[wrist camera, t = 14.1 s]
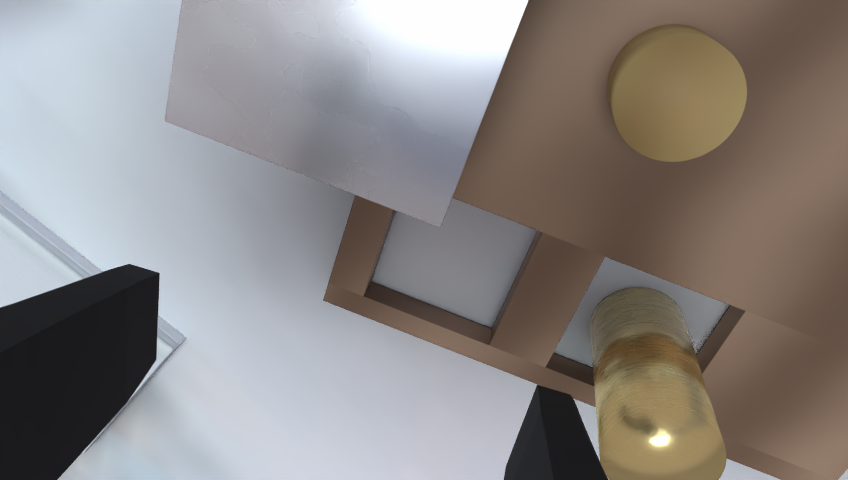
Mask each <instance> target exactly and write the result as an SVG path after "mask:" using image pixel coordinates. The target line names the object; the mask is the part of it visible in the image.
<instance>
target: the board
mask: <svg viewBox="0 0 848 480" xmlns="http://www.w3.org/2000/svg"><path fill="white" fill-rule="evenodd" d="M452 198H455V199H457V200H460V201H463V202H465V203H468V204H470V205H473V206H475V207H478V208H481V209H483V210H486V211H488V212H491V213H494V214H496V215H499V216H501V217H504V218H507V219H509V220H512V221H514V222H517V223H519V224H522V225H525V226H527V227H530V228H532V229H535V230H538V232H537V234H536V236H535V238H534V240H533V243H532V245H531V247H530V249H529V251H528V253H527V255H526V257H525V260H524V262H523V264H522V266H521V268H520V270H519V272H518V274H517V277H516V279H515V281H514V283H513V285H512V287H511V289H510V291H509V294H508V296H507V298H506V300H505V302H504V304H503V306H502V308H501V311H500V313H499V315H498V317H497V319H496V321H495V323H494V326H493V328H492V329H490V328H488V327H485V326H483V325H480V324H478V323H475V322H472V321H470V320H467V319H465V318H462V317H460V316H457V315H454V314H452V313H449V312H447V311H444V310H442V309H439V308H437V307H434V306H431V305H429V304H426V303H424V302H421V301H419V300H416V299H413V298H411V297H408V296H406V295H403V294H401V293H398V292H395V291H393V290H390V289H388V288H385V287H383V286H380V285H378V284H375V283H372V282H371V280H372V277H373V274H374V272H375V269H376V266H377V263H378V260H379V257H380V254H381V251H382V248H383V245H384V243H385V240H386V237H387V234H388V231H389V228H390V225H391V222H392V219H393V216H394V214H395V211H396V210H393V209H391V208H388V207H385V206H383V205H380V204H378V203H375V202H373V201H370V200H367V199H365V198H362V197H360V196H357V195H355V198H354V202H353V205H352V208H351V211H350V215H349V218H348V221H347V224H346V228H345V231H344V234H343V237H342V241H341V244H340V247H339V250H338V254H337V257H336V260H335V263H334V267H333V270H332V273H331V276H330V280H329V283H328V286H327V289H326V293H325V296H324V299H323V301H326V302H328V303H331V304H334V305H336V306H339V307H341V308H344V309H346V310H349V311H351V312H354V313H357V314H359V315H362V316H364V317H367V318H369V319H372V320H375V321H377V322H380V323H382V324H385V325H387V326H390V327H392V328H395V329H398V330H400V331H403V332H405V333H408V334H410V335H413V336H415V337H418V338H421V339H423V340H426V341H428V342H431V343H433V344H436V345H438V346H441V347H444V348H446V349H449V350H451V351H454V352H456V353H459V354H461V355H464V356H467V357H469V358H472V359H474V360H477V361H479V362H482V363H484V364H487V365H490V366H492V367H495V368H497V369H500V370H502V371H505V372H507V373H510V374H513V375H515V376H518V377H520V378H523V379H525V380H528V381H530V382H533V383H536V384H538V385H541V386H543V387H547V388H550V389H553V390H557V391H560V392H564V393H567V394H570V395H571V396H572V398H574V399H577V400H579V401H582V402H584V403H587V404H589V405H592V406H594V407H596V400H595V387H594V374H593V368H590V367H588V366H585V365H583V364H580V363H578V362H575V361H572V360H570V359H567V358H565V357H562V356H560V355H557V354H554V353H553V352H554V350H555V348H556V347H557V345H558V343H559V341H560V339H561V337H562V335H563V334H564V332H565V330H566V328H567V326H568V324H569V322H570V321H571V319H572V317H573V315H574V313H575V311H576V309H577V308H578V306H579V304H580V302H581V300H582V298H583V296H584V295H585V293H586V291H587V289H588V287H589V285H590V283H591V282H592V280H593V278H594V276H595V274H596V272H597V270H598V269H599V267H600V265H601V263H602V261H603V259H604V257H607V258H610V259H613V260H615V261H618V262H620V263H623V264H626V265H628V266H631V267H633V268H636V269H638V270H641V271H644V272H646V273H649V274H651V275H654V276H657V277H659V278H662V279H664V280H667V281H670V282H672V283H675V284H677V285H680V286H682V287H685V288H688V289H690V290H693V291H695V292H698V293H701V294H703V295H706V296H708V297H711V298H714V299H716V300H719V301H721V302H724V303H726V304H729V305H730V307H729V308H728V309H727V311H726V312H725V314H724V315H723V317H722V318H721V320H720V321H719V323H718V324H717V326H716V327H715V329H714V330H713V332H712V333H711V335H710V336H709V338H708V339H707V341H706V342H705V344H704V345H703V347H702V348H701V350H700V351H699V353H698V354H697V355H696V357H697V360H698V363H699V367H700V370H701V373H702V376H703V379H704V382H705V385H706V389H707V392H708V395H709V398H710V401H711V404H712V407H713V411H714V414H715V417H716V420H717V423H718V426H719V429H720V433H721V436H722V439H723V442H724V445H725V449H726V458H727V459H730V460H733V461H735V462H738V463H740V464H743V465H745V466H748V467H750V468H753V469H756V470H758V471H761V472H763V473H766V474H768V475H771V476H773V477H776V478H779V479H781V480H838V479H839V477H840V476H841V475H842V474H843V473H844V472H845V471H846V470H847V469H848V0H528V2H527V5H526V8H525V10H524V13H523V15H522V18H521V20H520V23H519V26H518V28H517V31H516V33H515V36H514V39H513V41H512V44H511V46H510V49H509V51H508V54H507V57H506V59H505V62H504V64H503V67H502V70H501V72H500V75H499V77H498V80H497V82H496V85H495V88H494V90H493V93H492V95H491V98H490V101H489V103H488V106H487V108H486V111H485V113H484V116H483V119H482V121H481V124H480V126H479V129H478V132H477V134H476V137H475V139H474V142H473V144H472V147H471V150H470V153H469V155H468V158H467V160H466V163H465V165H464V168H463V171H462V173H461V176H460V178H459V181H458V183H457V186H456V188H455V191H454V194H453V196H452Z"/></svg>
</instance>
